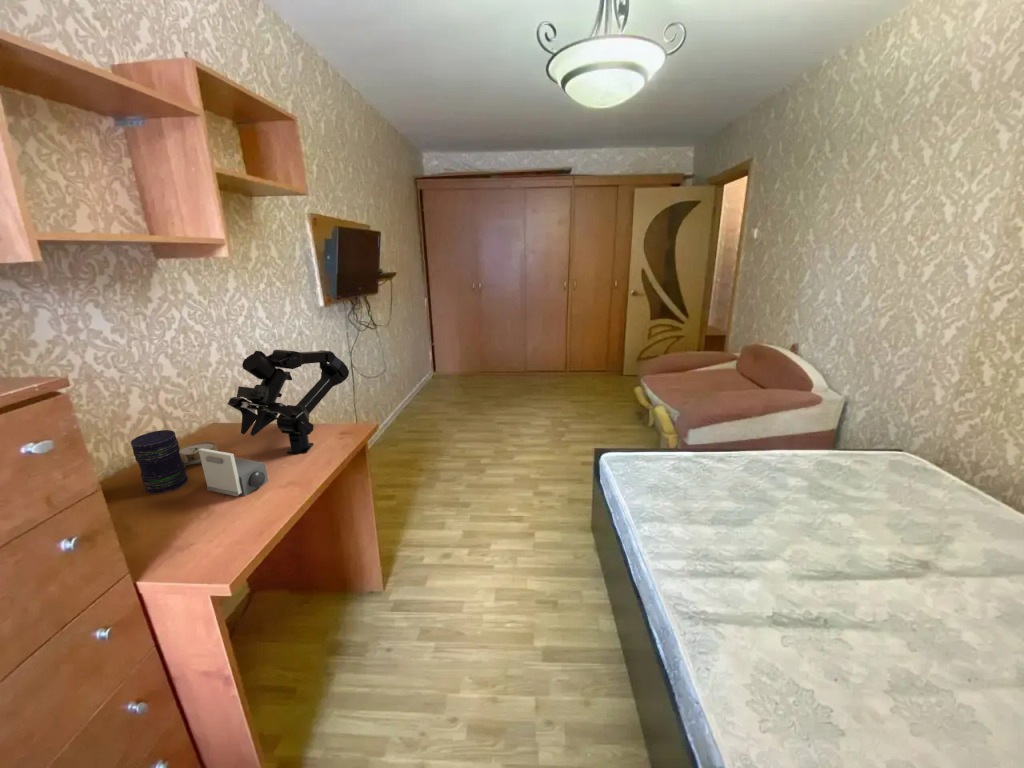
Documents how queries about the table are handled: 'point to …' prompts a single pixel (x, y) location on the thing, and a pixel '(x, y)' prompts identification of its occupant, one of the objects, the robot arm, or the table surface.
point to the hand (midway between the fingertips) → (247, 434)
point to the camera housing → (250, 475)
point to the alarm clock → (195, 452)
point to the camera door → (220, 472)
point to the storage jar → (159, 461)
